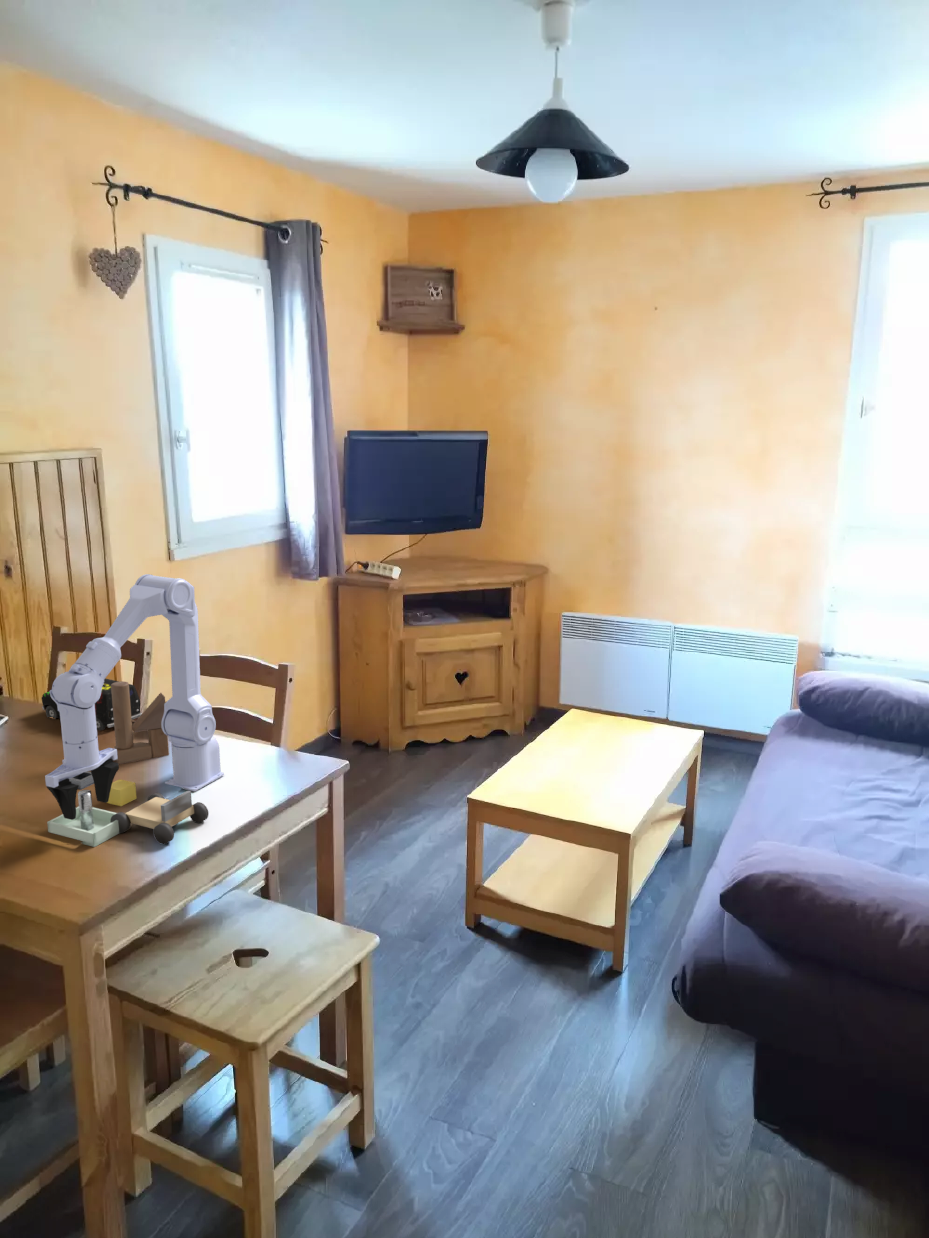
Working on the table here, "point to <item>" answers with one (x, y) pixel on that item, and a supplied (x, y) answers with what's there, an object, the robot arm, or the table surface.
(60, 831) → the tray
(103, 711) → the toy van
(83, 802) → the pin
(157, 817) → the trolley
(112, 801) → the yellow cube
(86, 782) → the pin socket
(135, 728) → the wooden block
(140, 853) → the table surface
